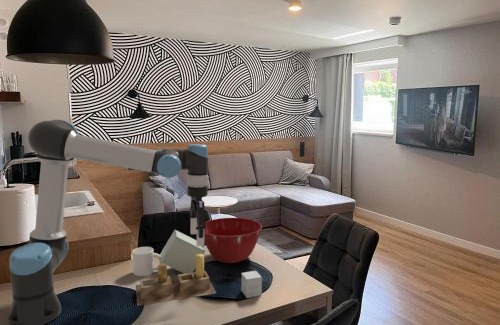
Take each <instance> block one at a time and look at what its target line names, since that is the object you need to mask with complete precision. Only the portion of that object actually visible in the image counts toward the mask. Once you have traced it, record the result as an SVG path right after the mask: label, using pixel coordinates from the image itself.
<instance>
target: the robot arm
mask: <svg viewBox="0 0 500 325" xmlns="http://www.w3.org/2000/svg"><path fill="white" fill-rule="evenodd" d="M27 141H28V144H29V147H30V148H31V149H32V151H34V153H36V159H37V160H38V161H39V162H40V169H39V170H40V172H39V181H38V182H39V184H38V194H37V206H36V216H35V217H36V218H35V228H34V229H33V230H32V231H30V233H29V241H28V243H27V244H24V245H23V246H19V247H18V248H15V249H14V250H13V251H12V252H11V253H10V255H9V262H8V263H9V264H8V267H9V272H10V282H11V291H12V293H11V294H12V302H11V306H10V308H9V312H8V315H7V323H8V325H44V324H46V323H48V324H50V323H51V322H50V321H52V320H54V319H55V318H56V319H57V317H58V316H59V317H60V315H61V314H60V313H62V304H61V302H60V300H59V298H58V295H57V294H56V292H55V287H54V274H53V273H54V272H55V271H56V269H57V268H58V267H59V265H61V263H62V262H63V261H64V260H65V259H66V258H67V255H68V251H69V243H68V239H67V231H66V230H65V229H64V228H63V226H64V216H65V206H66V205H65V204H66V194H67V186H68V173H69V166H70V164H71V163H72V162H73V161H74V160H75V159H78V160H84V161H88V162H89V161H90V162H94V163H98V164H104V165H109V166H115V167H121V168H124V169H125V168H126V169H130V170H137V171H142V172H148V173H150V174H151V173H152V174H157V175H160V176H161V177H164V178H167V179H171V178H174V177H176V176H177V175H178V174H179V173H180V171H183V170H184V171H187V176H186V177H187V183H186V184H187V190H186V191H187V196H188V197H189V198H190V206H189V217H190V235H196V240H197V246H203V247H204V246H205V242H204V229H206V223H205V222H206V211H205V201H204V200H203V198H204V197H207V196H208V192H209V190H208V189H209V187H208V186H207V185H208V183H209V182H208V179H210V176H208V173H209V171H208V170H209V149H208V146H207V144H204V143H203V144H201V143H191V144H188V145H187V148H186V149H166V148H164V149H156V150H155V149H149V148H145V147H140V146H136V145H132V144H131V145H130V144H126V143H121V142H116V141H111V140H106V139H102V138H101V139H100V138H95V137H92V136H88V135H87V136H86V135H81V134H79V131H78V129H77V127H76V126H75V125H73V124H72V123H71V122H69V121H67V120H62V119H52V120H43V121H39V122H38V123H36V124H34V125H33V126H32V127H31V128H30V130H29V131H28V135H27ZM201 225H203V226H201ZM59 317H58V318H59ZM56 319H55V320H56ZM55 320H54V321H55ZM49 322H50V323H49ZM52 322H53V321H52ZM46 325H47V324H46Z"/></svg>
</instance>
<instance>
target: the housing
mask: <svg viewBox="0 0 500 325" xmlns="http://www.w3.org/2000/svg"><path fill="white" fill-rule="evenodd" d="M205 253H206V249H205V247H204V246H197V239H195V238H192V237H191V236H188V235H187V234H184V233H182V232H181V231H179V230H177V229H174V230H173V232H172V233H171V235H170V237H169V239H168V240H167V242H166V244H165V245H164V246H163V248H162V251H161V252H160V254H159V255H160V256H161V263H162V264H166V265H167V266H168V267H169V268H172V269H173V270H176V271H179V272H180V273H181V274H186V273H194V272H195V271H196V255H197V254H203V255H204V254H205Z"/></svg>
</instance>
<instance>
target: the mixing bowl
mask: <svg viewBox="0 0 500 325" xmlns="http://www.w3.org/2000/svg"><path fill="white" fill-rule="evenodd" d="M205 223H206V229H204V245H205V246H206V248H207V251H208V252H209V254H210V255H211V257H213V258H214V259H215V260H217V261H218V262H221V263H223V264H237V263H240V261H241V262H243V261H245V260H246V259H247V258H249V257H250V256H251V255H252V253H253V251H254V249H255V247H256V246H257V244H258V240H259V237H260V234H261V230H262V229H263V225H262V224H261V223H260V222H258V221H256V220H253V219H249V218H244V217H221V218H215V219H210V220H207V221H205ZM200 226H203V225H200ZM236 262H237V263H236Z"/></svg>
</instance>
